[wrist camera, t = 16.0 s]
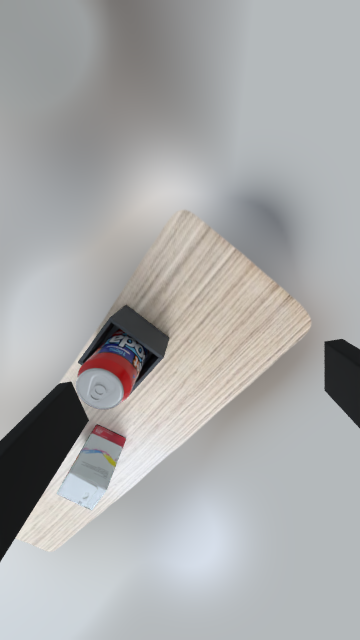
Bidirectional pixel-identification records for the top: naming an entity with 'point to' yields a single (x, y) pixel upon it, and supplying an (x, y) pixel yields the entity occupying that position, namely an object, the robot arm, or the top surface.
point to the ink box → (93, 468)
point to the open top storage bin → (139, 332)
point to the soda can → (111, 371)
